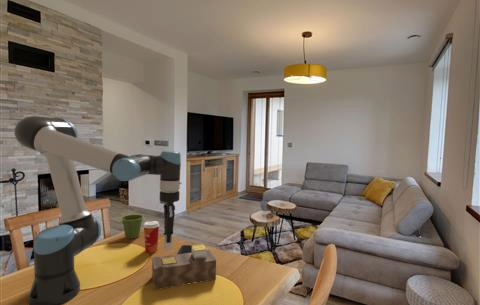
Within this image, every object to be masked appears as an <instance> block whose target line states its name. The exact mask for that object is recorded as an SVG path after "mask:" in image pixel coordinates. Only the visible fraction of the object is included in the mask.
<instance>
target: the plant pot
mask: <svg viewBox="0 0 480 305" xmlns="http://www.w3.org/2000/svg"><path fill="white" fill-rule="evenodd" d="M144 217H145V216H144V215H143V214H136V213H135V214H134V213H133V214H126V215H123V216H122V217H120V220H121V221H122V225H123V230H124V237H125V238H126V239H128V240H129V239H137V238H139V237H140V234H141V227H142V223H143V219H144Z"/></svg>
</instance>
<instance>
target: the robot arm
mask: <svg viewBox="0 0 480 305" xmlns="http://www.w3.org/2000/svg"><path fill="white" fill-rule="evenodd" d="M13 133H14V136H15V139H16V141H17V142H18V143H19V144H20V145H22V146H23V147H25V148H27V149H31V150H33V151H36V152H38V153H39V154H40V155H41V156H42V157H45V158H46V161H47V166H48V169H49V173H50V177H51V180H52V184H53V188H54V190H55V191H54V192H55V194H56V199H57V203H58V207H59V211H60V215H61V218H60V219H59V221H58V225H53V226H50V227H47V228H45V229H42V230H41V231H39V232H37V234H36V235H35V237H34V240H33V247H32V248H33V249H32V250H33V261H34V262H33V266H34V269H33V271H34V272H33V273H34V277H33V278H34V279H33V281H32V284H31V287H30V290H29V293H28V304H29V305H61V304H64V303H66V302H68V301H70V300H72V299H73V298H75V296H77V295H78V294H79V292H80V291H81V281H80V279H79V277H78V274H77V272H76V270H75V257H76V256H77V255H79V254H80V253H82V252H84V251H85V250H86V249H89V248H90V247H92V246H93V245H94V244H95V243H96V242H97V241H98V240H99V239H100V237H101V234H102V225H101V222H100V221H99V220H98V219H96V217H94V216H93V214H92V212H91V211H89V210H87V208H86V204H85V199H84V196H83V191H82V189H81V184H80V180H79V175H78V172H77V168H76V164H75V162H76V163H80V164H83V165H86V166H89V167H92V168H95V169H98V170H100V171H103V172H106V173H109V174H112V175H113V176H114V177H115V178H116V179H117V180H118V181H121V182H128V181H133V180H135V179H137V178H140V177H143V176H146V175H150V176H151V175H154V176H155V175H156V176H159V178H160V179H159V190H160V191H159V201H160V202H162V203H165V204H163V209H164V210H163V215H164V216H163V217H164V224H163V229H164V231H163V234H162V235H163V236H164V239H163V240H164V242H163V244H164V245H163V249H164V251H171V250H172V247H173V246H172V244H173V234H174V222H175V221H174V220H175V214H176V213H175V211H176V206H175V204H174V203H175V202H179V200H180V193H181V192H180V188H181V186H180V185H181V184H182V182H181V164H182V163H181V160H182V159H181V153H180V152H179V151H176V150H163V151H161V152H160V155H154V154H153V155H152V154H142V153H141V154H132V155H127V154H123V153H121V152H118V151H115V150H112V149H109V148H108V147H107V148H106V147H104V146H101V145H97V144H95V143H92V142H89V141H86V140H83V139H81V138H78V131H77V128H76V126H75V125H74V124H73V123H72V122H71V121H69V120H68V119H64V118H60V117H48V116H36V115H32V116H31V115H30V116H26V117H25V118H24V117H23V118H22V119H20V121H19V122H17V123H16V125H15V127H14V132H13Z"/></svg>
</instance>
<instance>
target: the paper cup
mask: <svg viewBox="0 0 480 305" xmlns="http://www.w3.org/2000/svg"><path fill="white" fill-rule="evenodd" d="M142 227H143V230H144V231H143V233H144V234H143V235H144V250H145V252H146V253H148V254H152V253H156V252H157V251H158V243H159V232H160V230H159V228H160V224H159V221H157V220H148V221H145V222H144V224H143V225H142Z"/></svg>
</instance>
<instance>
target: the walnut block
mask: <svg viewBox="0 0 480 305" xmlns="http://www.w3.org/2000/svg"><path fill="white" fill-rule="evenodd" d="M170 257H175V260H176V263H174V264H167V265H162V259H163V258H170ZM151 260H152V261H151V262H152V264H151V273H152V274H151V275H152V276H151V277H152V278H151V280H152V285H153V286H152V287H153V290H154V291H155V289H157V290H161V289H160V288H162V289H167V288H166V287H168V288H172V287H171V286H174V287H179V286H178V285H180V286H183V285H182V284H186V285H189V284H188V283H191V284H195V283H194V282H197V283H201V282H200V281H203V282H207V281H206V280H209V281H213V280H212V279H215V280H216V279H217V259H216V258H215V256H214V254H213V252H212V251H211V250H210V249H208V250H207V249H206V259H203V260H196V261H193V259H192V253H184V254H169V255H163V256H154V257H152V259H151Z"/></svg>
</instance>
